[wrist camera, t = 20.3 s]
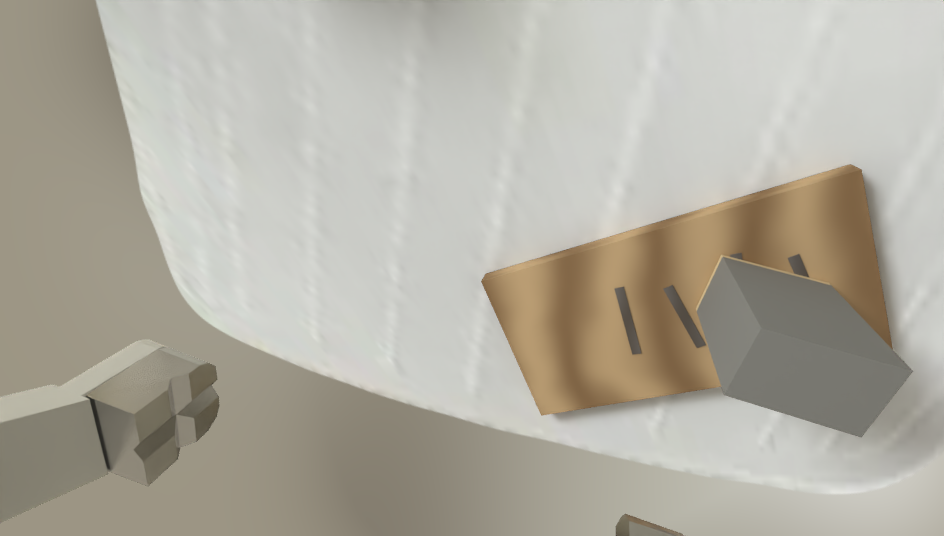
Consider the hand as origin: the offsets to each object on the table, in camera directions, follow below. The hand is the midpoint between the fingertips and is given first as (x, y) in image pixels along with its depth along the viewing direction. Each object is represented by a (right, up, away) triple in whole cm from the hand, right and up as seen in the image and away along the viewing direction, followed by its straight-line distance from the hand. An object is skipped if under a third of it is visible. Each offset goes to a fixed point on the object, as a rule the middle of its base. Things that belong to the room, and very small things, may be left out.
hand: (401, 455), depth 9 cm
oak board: (+17, 0, +28) cm, 33 cm away
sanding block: (+22, +2, +24) cm, 32 cm away
